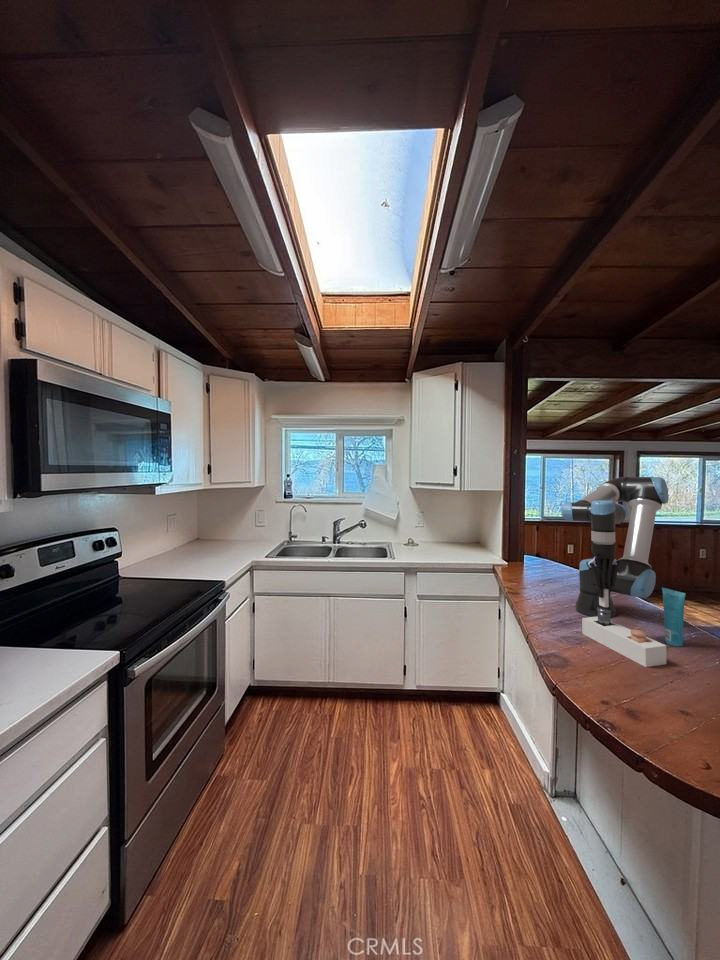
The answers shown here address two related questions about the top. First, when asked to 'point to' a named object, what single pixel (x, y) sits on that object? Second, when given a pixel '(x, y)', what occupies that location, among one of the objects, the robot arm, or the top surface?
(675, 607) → the tube
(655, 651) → the block
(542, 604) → the top surface
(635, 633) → the tan rounded peg
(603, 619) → the plunger graphite
